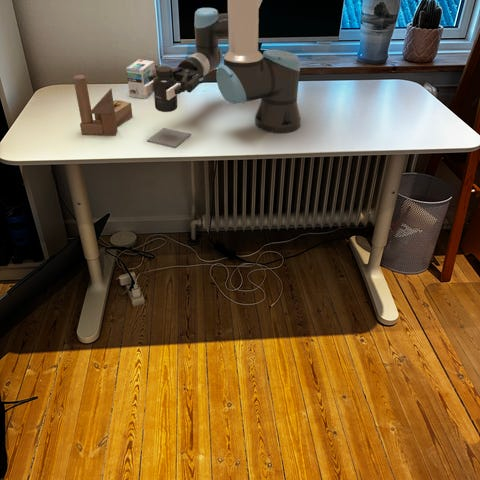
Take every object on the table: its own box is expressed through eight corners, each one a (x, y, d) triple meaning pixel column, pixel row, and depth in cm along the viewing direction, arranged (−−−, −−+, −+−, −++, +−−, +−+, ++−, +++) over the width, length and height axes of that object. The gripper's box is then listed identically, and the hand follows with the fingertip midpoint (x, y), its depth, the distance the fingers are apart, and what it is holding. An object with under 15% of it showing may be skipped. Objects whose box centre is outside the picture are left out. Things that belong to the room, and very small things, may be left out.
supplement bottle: (152, 111, 149) (148, 71, 142) (158, 102, 154) (154, 63, 147) (175, 113, 148) (172, 73, 141) (180, 104, 154) (177, 65, 146)
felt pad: (191, 134, 159) (191, 133, 159) (175, 148, 152) (175, 146, 151) (163, 129, 162) (163, 127, 162) (147, 141, 155) (147, 140, 155)
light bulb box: (145, 99, 182) (142, 69, 176) (128, 97, 184) (125, 67, 177) (157, 89, 191) (155, 60, 184) (141, 87, 192) (138, 58, 185)
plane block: (132, 116, 170) (129, 93, 165) (111, 130, 161) (108, 106, 156) (117, 113, 171) (114, 91, 167) (96, 127, 163) (92, 103, 158)
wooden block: (115, 136, 158) (106, 79, 147) (81, 134, 158) (70, 78, 147) (118, 131, 161) (110, 75, 150) (84, 129, 161) (74, 74, 150)
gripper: (221, 85, 160) (187, 111, 143) (167, 75, 166) (128, 99, 149) (221, 61, 155) (186, 85, 138) (165, 52, 161) (125, 74, 144)
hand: (156, 92), depth 144 cm, fingers closed on supplement bottle, 7 cm apart
